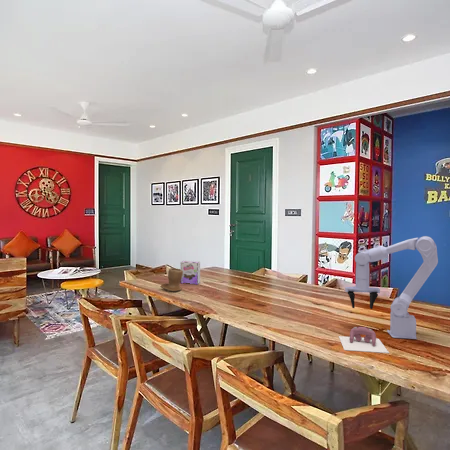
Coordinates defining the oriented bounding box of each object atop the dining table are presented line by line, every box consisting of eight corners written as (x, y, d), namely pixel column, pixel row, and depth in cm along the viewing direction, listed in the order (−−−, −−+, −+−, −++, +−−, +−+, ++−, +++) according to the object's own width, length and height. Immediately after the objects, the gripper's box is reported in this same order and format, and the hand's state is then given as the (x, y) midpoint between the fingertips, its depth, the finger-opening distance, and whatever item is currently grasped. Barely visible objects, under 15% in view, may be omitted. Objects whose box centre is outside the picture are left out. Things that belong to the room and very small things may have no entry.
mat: (378, 338, 137) (378, 338, 137) (389, 353, 124) (389, 352, 124) (338, 336, 140) (338, 336, 140) (344, 350, 126) (344, 349, 126)
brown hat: (186, 290, 223) (186, 268, 223) (170, 293, 216) (170, 270, 215) (175, 286, 235) (174, 265, 235) (159, 289, 228) (159, 267, 227)
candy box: (180, 283, 245) (180, 261, 245) (183, 281, 251) (183, 260, 250) (197, 284, 241) (197, 262, 241) (200, 283, 247) (200, 261, 246)
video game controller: (375, 347, 132) (376, 329, 135) (375, 346, 128) (376, 327, 131) (349, 343, 136) (350, 326, 139) (348, 342, 133) (349, 324, 135)
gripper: (377, 277, 152) (376, 306, 152) (344, 276, 154) (343, 304, 155) (381, 280, 145) (381, 310, 145) (346, 279, 147) (346, 309, 148)
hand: (362, 307), depth 150 cm, fingers open, 7 cm apart
